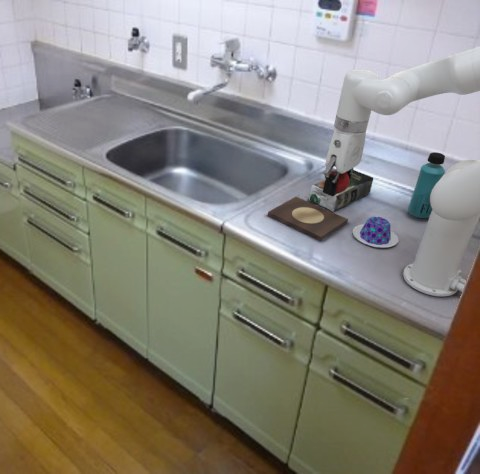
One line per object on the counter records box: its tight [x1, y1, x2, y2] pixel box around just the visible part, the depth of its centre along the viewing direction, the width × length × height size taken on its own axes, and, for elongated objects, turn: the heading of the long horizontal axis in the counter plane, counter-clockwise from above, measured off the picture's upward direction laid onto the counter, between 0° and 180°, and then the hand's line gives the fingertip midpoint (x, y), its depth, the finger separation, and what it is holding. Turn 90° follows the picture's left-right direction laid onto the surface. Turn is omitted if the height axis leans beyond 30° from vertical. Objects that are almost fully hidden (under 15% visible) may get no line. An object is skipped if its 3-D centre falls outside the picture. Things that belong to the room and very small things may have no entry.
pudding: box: [352, 216, 399, 249], centre depth 145 cm, size 12×12×5 cm
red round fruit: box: [331, 171, 350, 194], centre depth 135 cm, size 6×6×8 cm
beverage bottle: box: [407, 151, 446, 219], centre depth 151 cm, size 6×7×20 cm
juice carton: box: [309, 169, 374, 213], centre depth 164 cm, size 20×10×6 cm, turn 129°
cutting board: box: [267, 196, 349, 242], centre depth 153 cm, size 18×14×2 cm
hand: (335, 189), depth 136 cm, fingers closed on red round fruit, 6 cm apart
